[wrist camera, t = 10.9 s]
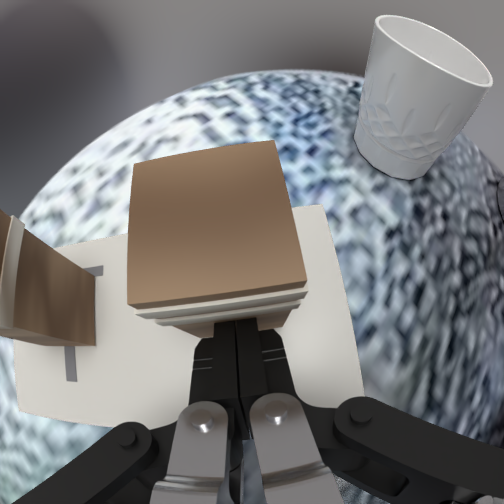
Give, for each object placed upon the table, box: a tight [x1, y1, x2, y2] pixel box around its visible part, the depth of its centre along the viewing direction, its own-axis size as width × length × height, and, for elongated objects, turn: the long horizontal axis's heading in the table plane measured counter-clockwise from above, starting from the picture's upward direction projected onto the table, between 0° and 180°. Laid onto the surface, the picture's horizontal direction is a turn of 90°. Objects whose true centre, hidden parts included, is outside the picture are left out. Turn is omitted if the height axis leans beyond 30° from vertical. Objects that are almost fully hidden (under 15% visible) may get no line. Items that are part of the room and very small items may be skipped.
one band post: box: [0, 210, 95, 346], centre depth 10 cm, size 4×4×8 cm
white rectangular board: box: [14, 204, 365, 429], centre depth 15 cm, size 11×21×2 cm, turn 98°
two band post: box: [127, 140, 309, 338], centre depth 10 cm, size 4×4×8 cm
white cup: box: [354, 15, 493, 180], centre depth 15 cm, size 8×8×10 cm
